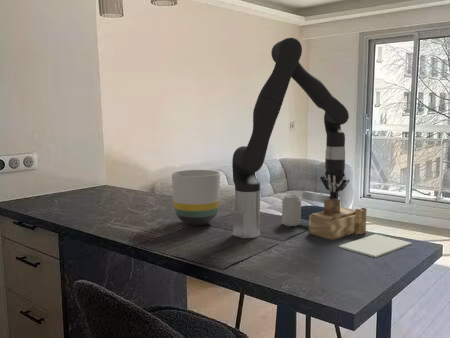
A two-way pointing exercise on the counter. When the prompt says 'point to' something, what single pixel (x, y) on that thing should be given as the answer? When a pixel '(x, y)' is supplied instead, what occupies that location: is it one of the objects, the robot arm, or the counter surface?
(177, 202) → the planter
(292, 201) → the can
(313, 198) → the bolt
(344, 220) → the toolbox
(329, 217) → the lid
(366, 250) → the mat
